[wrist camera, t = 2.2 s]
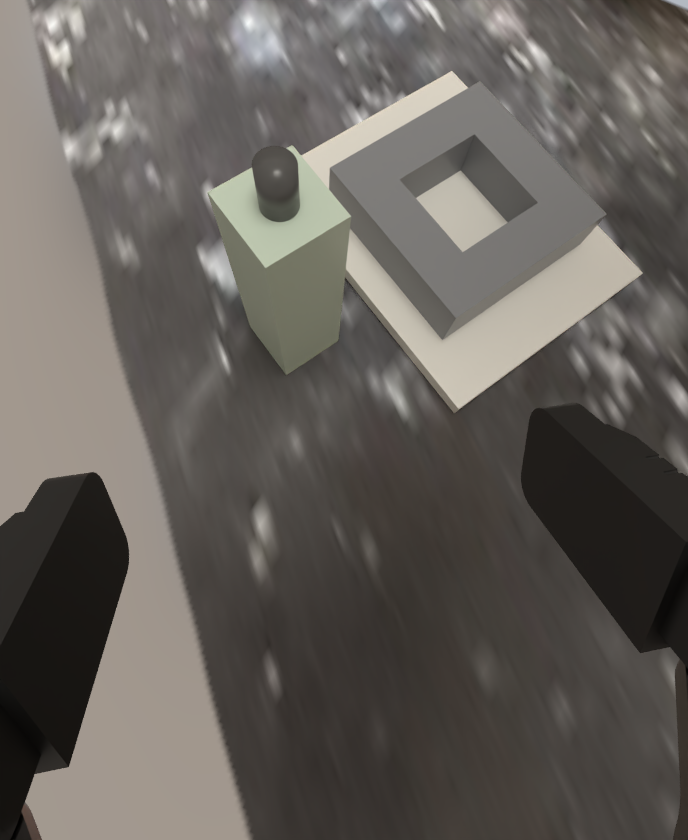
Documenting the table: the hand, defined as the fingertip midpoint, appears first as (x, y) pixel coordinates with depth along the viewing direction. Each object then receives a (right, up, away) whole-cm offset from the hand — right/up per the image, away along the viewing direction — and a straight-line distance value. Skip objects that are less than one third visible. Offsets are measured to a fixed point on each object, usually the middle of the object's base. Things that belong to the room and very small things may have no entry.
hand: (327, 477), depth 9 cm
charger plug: (-3, +7, +21) cm, 22 cm away
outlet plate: (+8, +14, +23) cm, 28 cm away
